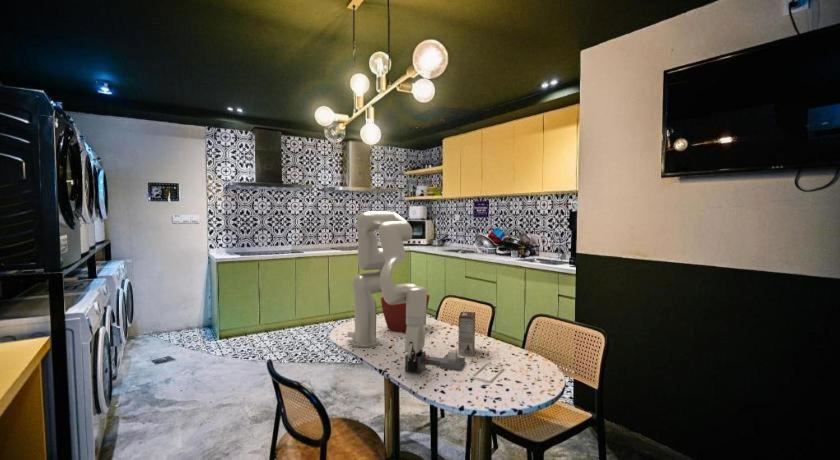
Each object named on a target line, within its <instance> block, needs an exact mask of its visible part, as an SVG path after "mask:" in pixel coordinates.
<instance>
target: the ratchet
mask: <svg viewBox="0 0 840 460" xmlns="http://www.w3.org/2000/svg"><path fill="white" fill-rule="evenodd" d="M465 364H466V357H461V356H460V357H459V356H458V350H457V349H456V350H454V349H449V350H448V352H447V355H444V356H443V357H437V356H430V355H429V354H426V365H435V366H439V369H447V370H453V371H462V368H463V367H464V365H465Z"/></svg>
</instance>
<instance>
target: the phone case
mask: <svg viewBox="0 0 840 460" xmlns="http://www.w3.org/2000/svg"><path fill="white" fill-rule="evenodd" d="M489 366H495V367H500V369H499V370H498V371H497V372H496V373H495V374H494V375H493V376H492V377H491V378H490V379H486V378H481V377H478V376H474V375H476V374H478V373H480V372H481V371H482V370H483V369H484V368H486V367H489ZM503 370H504V366H501V365H498V364H492V363H488V362H485V363H484V364H482V366H481V367H479V368H478V369H477V370H476V371H474V372H473V373H472V374H471V377H470V378H471V379H472V380H475V381H479V382H480V381H481V382H483V383H487V384H488V383H489V384H490V383H492V382H493V381H494V380H495V379H496V378H497V377H498V376H499V374H501V373H502V372H503Z"/></svg>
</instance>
